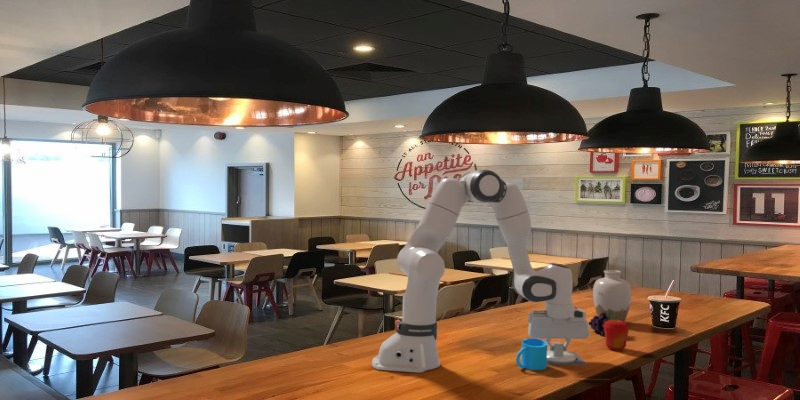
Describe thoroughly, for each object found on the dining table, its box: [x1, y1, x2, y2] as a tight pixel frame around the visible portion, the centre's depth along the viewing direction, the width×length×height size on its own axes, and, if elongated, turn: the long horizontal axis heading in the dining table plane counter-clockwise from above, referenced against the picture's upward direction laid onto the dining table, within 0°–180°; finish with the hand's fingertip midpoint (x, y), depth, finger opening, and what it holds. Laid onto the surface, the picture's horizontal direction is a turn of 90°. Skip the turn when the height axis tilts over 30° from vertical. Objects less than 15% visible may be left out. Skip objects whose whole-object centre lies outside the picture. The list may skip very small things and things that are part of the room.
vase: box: [592, 269, 632, 322], centre depth 268 cm, size 16×16×23 cm
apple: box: [604, 320, 630, 352], centre depth 225 cm, size 9×8×12 cm
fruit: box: [588, 310, 618, 337], centre depth 248 cm, size 10×11×15 cm
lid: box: [547, 341, 576, 363], centre depth 211 cm, size 12×12×5 cm
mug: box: [515, 337, 548, 371], centre depth 199 cm, size 12×8×8 cm
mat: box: [547, 351, 588, 366], centre depth 211 cm, size 16×16×1 cm
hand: (557, 350), depth 211 cm, fingers closed on lid, 3 cm apart
